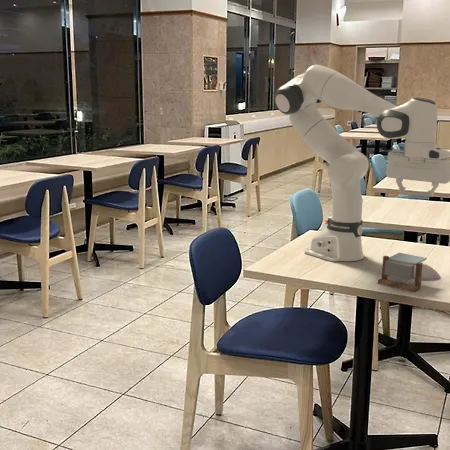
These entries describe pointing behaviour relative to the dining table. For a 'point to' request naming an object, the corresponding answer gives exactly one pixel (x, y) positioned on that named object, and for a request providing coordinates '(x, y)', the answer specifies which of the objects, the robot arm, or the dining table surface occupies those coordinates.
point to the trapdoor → (402, 265)
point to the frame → (400, 285)
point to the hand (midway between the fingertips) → (416, 194)
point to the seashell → (427, 273)
